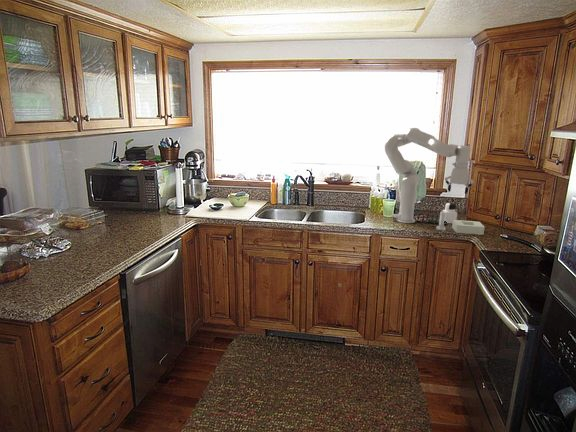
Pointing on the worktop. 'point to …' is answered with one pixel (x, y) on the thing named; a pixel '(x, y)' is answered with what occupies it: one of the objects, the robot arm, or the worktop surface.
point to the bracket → (441, 221)
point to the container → (450, 212)
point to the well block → (468, 227)
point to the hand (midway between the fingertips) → (457, 192)
